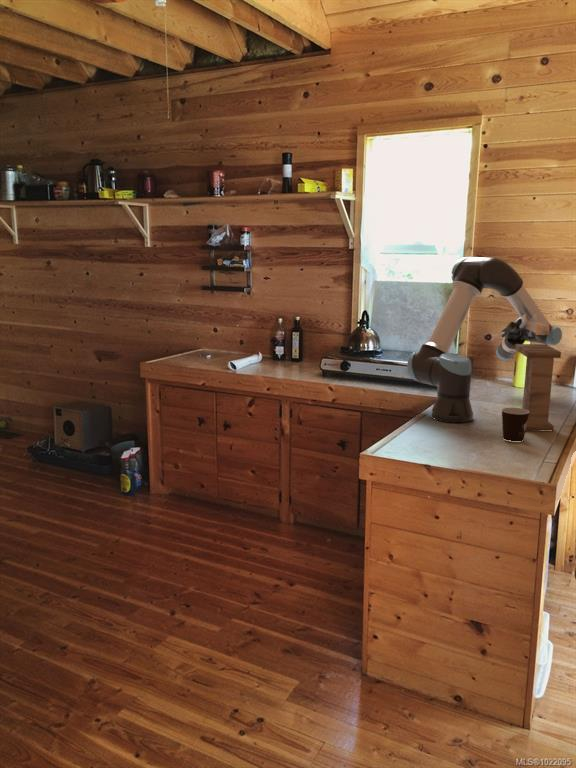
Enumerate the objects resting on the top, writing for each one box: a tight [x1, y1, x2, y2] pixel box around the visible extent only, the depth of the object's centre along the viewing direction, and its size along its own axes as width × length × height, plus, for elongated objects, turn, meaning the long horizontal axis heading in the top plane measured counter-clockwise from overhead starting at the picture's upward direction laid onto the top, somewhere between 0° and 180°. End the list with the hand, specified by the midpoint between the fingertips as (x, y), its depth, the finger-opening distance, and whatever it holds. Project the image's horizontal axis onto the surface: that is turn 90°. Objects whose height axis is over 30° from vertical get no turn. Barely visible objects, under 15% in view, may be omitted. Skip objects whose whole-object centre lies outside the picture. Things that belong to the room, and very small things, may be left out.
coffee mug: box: [501, 407, 529, 441], centre depth 218 cm, size 12×9×10 cm
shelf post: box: [515, 343, 562, 432], centre depth 233 cm, size 16×11×28 cm
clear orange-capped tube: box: [520, 318, 550, 335], centre depth 240 cm, size 26×4×3 cm, turn 176°
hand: (530, 317), depth 243 cm, fingers closed on clear orange-capped tube, 3 cm apart
